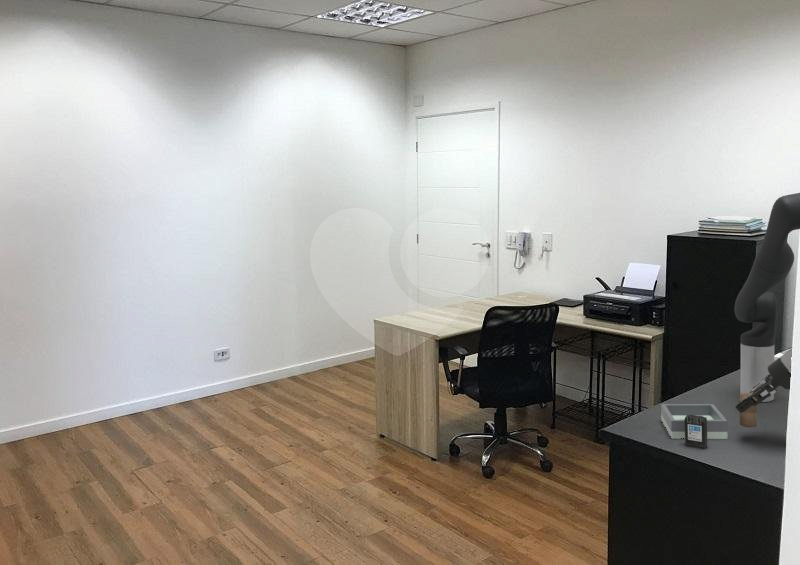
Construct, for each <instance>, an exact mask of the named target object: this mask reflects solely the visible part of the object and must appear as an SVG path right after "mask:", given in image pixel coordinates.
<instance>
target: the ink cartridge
mask: <svg viewBox="0 0 800 565" xmlns="http://www.w3.org/2000/svg"><path fill="white" fill-rule="evenodd" d="M684 423H685V439H684V445H685V446H686V447H691V448H697V449H701V450H702V449H703V450H704V449H706V448H707V446H708V439H707V418H706V417H703V416H695V415H687V416H686V417H685V420H684Z"/></svg>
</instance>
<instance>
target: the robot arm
mask: <svg viewBox="0 0 800 565" xmlns="http://www.w3.org/2000/svg"><path fill="white" fill-rule="evenodd" d="M796 230H800V192H797V193H791V194H786V195H782V196H779V197H778V198H777V199H776V200H775V201H774V203H773V204H772V207H771V211H770V216H769V219H768V222H767V228H766V230H765V234H764V236H763V239H762V242H761V245H760V248H759V249H758V252H757V253H756V256H755V258H754V261H753V263H752V264H753V265H752V266H751V269H750V272H749V275H748V277H747V279H746V281H745V282H744V284H743V286H742V288H741V289H740V291H739V293H738V294H737V296H736V299H735V303H734V314H735V317H736V319H737V320H738V321H739V322H742V323H749V324H750V323H758V325H756V327H754V328H752V329H749V330H748V331H745V332H743V333H742V334H740V390H739V392H740V394H741V393H751V394H750V395H749V396H747V397H746V398H745V399H744V400H743V401H741V402H740V399H739V400H738V404H736V405H735V409H736V410H737V411H739V413H740V412H741V413H742V412H744V411H745V410H747V409H748V408H749V407H751V406H752V405H753V406H756V405H757V406H758V405H759V404H760V403H767V402H772V401H773V400H775V393H776V392H777V393H778V389H779V388H780V387H782V388H783V389H785V390H787V391H789V390H790V377H791V357H792V348H790V349H788V350H787V351H786V352H785V353H784V354H782V355H781V356H779V357H778V358H777V359H776V360H775V344H776V343H775V339H776V332H777V319H778V301H777V298H776V295H775V294H774V293H773V292H771V291H770V290H772V289H774V288H776V287H777V286H779V284H781V283H783V282H784V281H785V279H786V278H787V277H788V276H789V274H790V271H791V270H792V267H793V265H794V262H795V254H794V251H793V249H792V247H791V245H789V243H788V241H787V238H788V236H789V234H790V233H791V232H793V231H796ZM740 394H739V395H740ZM752 397H755V398H756V399H757V400H756V401H755V400H754V399H753V398H752Z"/></svg>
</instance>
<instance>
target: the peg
mask: <svg viewBox="0 0 800 565" xmlns="http://www.w3.org/2000/svg"><path fill="white" fill-rule="evenodd" d="M750 394H751V393H741V394H739V400H740V402H741V401H743V400H744V399H745V398H746V397H747V396H749V395H750ZM752 398H753V399H754V400H755V401H756V400H757V399H756V398H755V397H752ZM757 415H758V404H757V405H756V406H753V405H752V406H751V407H749V408H748V409H747V410H745V411H744V412H742V413H741V412H739V425H740V426H741V427H745V428H756V427H757V426H758V424H757V422H758V418H757V417H758V416H757Z"/></svg>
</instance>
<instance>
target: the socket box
mask: <svg viewBox="0 0 800 565" xmlns="http://www.w3.org/2000/svg"><path fill="white" fill-rule="evenodd" d="M660 405H661V407H660V411H661V414H660V416H661V417H660V418H661V422H663V423H662V425H663V426H664V428H665V427H666V428H665V430H666V429H667V430H666V431H668V432H667V434H668V435H669V436H671V437H670V438H672V439H671V440H675V439H676V440H681V438H682V440H685V423H684V420H685V417H686V416H687V415H695V416H703V417H706V418H707V440H728V420H727V419H726V417H725V416H724V415H723V413H721V412H720V410H718V408H717V407H716V405H714V403H686V404H685V403H684V404H683V403H682V404H681V403H672V404H671V403H662V404H660ZM683 438H684V439H683Z"/></svg>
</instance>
